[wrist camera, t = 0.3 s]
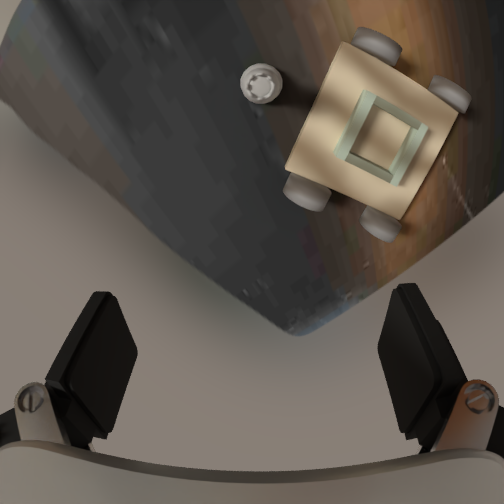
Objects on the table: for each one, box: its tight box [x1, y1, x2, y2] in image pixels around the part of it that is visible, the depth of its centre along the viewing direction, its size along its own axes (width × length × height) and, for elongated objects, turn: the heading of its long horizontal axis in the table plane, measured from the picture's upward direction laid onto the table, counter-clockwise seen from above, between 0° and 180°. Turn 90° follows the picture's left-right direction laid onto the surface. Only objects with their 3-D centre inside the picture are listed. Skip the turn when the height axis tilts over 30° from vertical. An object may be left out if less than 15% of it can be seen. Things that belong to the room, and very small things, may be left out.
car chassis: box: [283, 27, 472, 242], centre depth 31 cm, size 20×16×5 cm
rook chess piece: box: [241, 64, 283, 104], centre depth 27 cm, size 4×4×8 cm
